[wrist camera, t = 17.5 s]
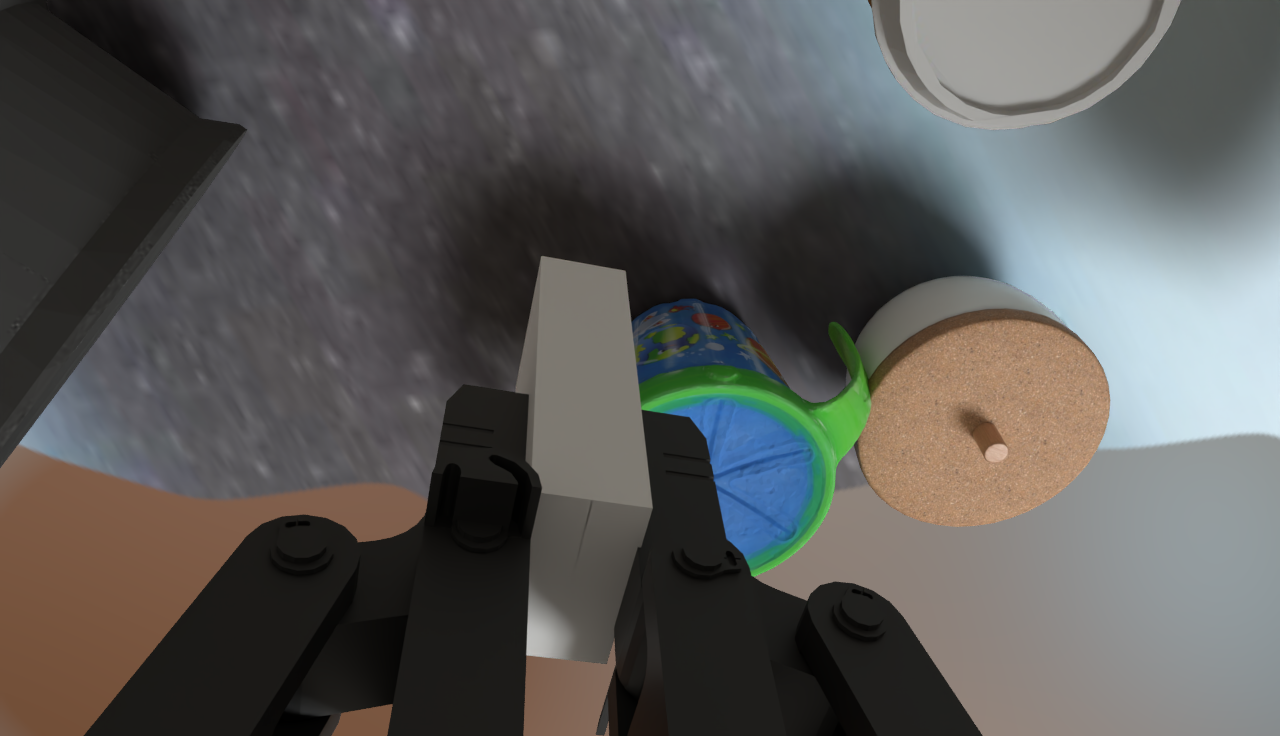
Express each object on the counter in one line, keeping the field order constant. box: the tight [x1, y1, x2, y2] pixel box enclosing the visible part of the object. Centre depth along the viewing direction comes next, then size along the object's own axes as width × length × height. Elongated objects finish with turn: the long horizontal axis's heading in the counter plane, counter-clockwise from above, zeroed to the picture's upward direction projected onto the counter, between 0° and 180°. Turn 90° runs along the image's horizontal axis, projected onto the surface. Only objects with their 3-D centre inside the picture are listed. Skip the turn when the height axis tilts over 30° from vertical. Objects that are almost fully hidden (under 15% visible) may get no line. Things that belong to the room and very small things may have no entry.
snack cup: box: [631, 299, 871, 577], centre depth 46 cm, size 16×10×10 cm
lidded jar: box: [845, 276, 1110, 527], centre depth 46 cm, size 11×11×9 cm
